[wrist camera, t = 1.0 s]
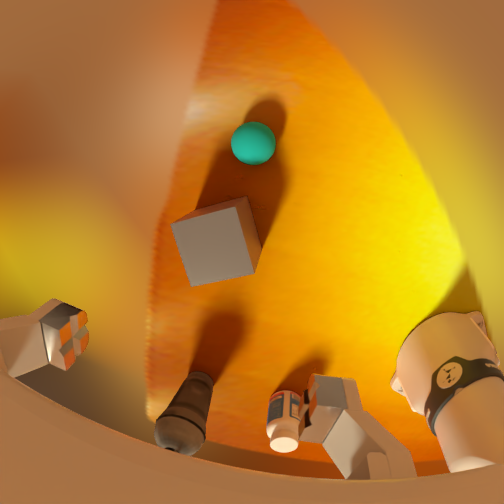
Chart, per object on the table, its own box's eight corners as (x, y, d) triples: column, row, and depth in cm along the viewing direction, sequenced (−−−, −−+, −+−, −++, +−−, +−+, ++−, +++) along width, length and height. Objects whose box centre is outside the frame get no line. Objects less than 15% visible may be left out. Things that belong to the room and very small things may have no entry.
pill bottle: (268, 410, 48) (263, 454, 39) (269, 388, 46) (264, 433, 37) (301, 411, 47) (300, 455, 38) (303, 389, 46) (304, 434, 36)
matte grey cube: (247, 195, 38) (235, 206, 30) (262, 249, 40) (254, 273, 31) (194, 209, 39) (170, 224, 31) (210, 260, 41) (191, 286, 33)
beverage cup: (207, 359, 46) (165, 460, 27) (230, 391, 47) (201, 491, 28) (171, 370, 48) (122, 461, 29) (194, 400, 49) (158, 491, 30)
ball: (285, 144, 35) (284, 142, 31) (255, 173, 37) (250, 175, 32) (255, 115, 35) (250, 109, 30) (226, 144, 36) (217, 143, 31)
